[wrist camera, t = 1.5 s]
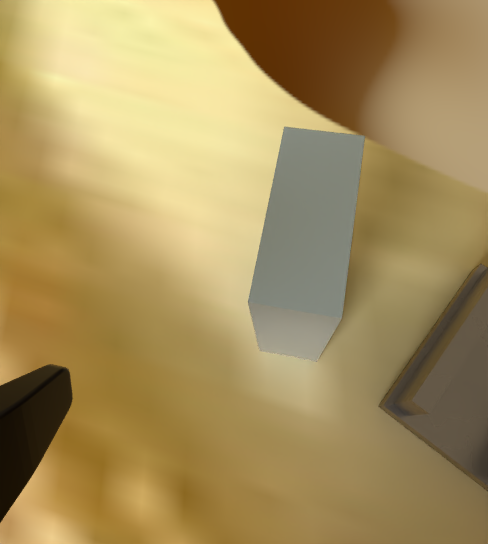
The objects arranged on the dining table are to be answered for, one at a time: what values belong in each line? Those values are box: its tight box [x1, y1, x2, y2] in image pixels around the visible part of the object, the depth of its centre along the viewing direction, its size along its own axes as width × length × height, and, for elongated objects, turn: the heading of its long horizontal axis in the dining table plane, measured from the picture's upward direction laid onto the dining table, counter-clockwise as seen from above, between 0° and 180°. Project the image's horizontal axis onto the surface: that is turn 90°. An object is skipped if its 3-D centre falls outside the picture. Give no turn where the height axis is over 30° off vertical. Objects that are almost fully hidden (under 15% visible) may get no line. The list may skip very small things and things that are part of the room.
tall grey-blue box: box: [248, 127, 365, 362], centre depth 19 cm, size 7×3×9 cm, turn 169°
